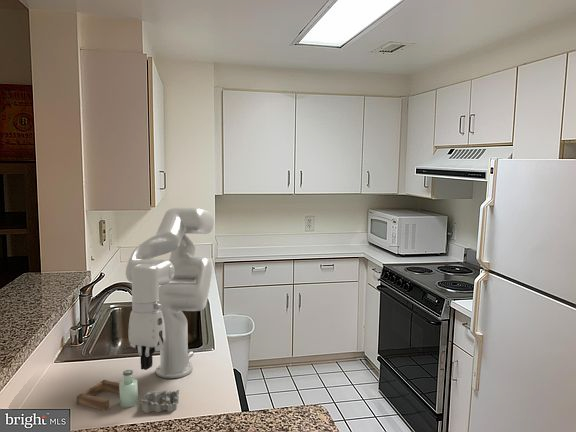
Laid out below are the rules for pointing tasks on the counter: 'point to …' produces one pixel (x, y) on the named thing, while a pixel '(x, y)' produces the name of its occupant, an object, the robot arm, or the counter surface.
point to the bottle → (128, 390)
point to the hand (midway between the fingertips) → (146, 367)
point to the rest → (96, 402)
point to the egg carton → (157, 397)
